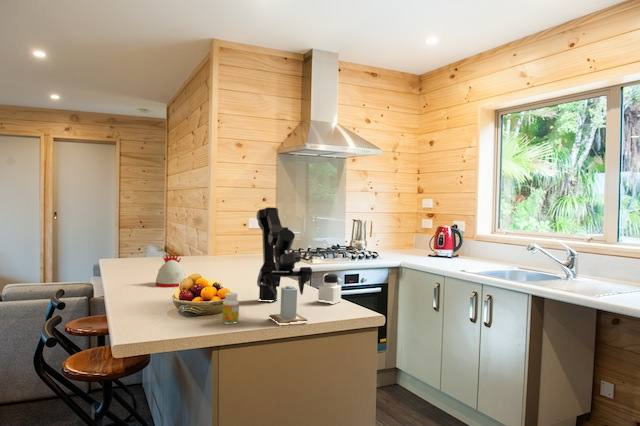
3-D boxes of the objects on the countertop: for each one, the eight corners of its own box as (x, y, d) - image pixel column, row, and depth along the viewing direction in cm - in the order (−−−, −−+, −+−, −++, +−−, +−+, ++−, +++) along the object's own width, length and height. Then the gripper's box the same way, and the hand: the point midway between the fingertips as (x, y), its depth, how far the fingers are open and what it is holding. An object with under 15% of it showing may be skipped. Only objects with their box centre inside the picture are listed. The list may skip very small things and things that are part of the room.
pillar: (280, 315, 163) (281, 285, 163) (292, 315, 165) (293, 285, 164) (283, 318, 159) (284, 288, 159) (296, 318, 160) (297, 287, 160)
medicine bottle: (340, 302, 197) (342, 274, 197) (332, 305, 191) (333, 276, 191) (326, 300, 201) (327, 272, 200) (317, 302, 194) (319, 274, 194)
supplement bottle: (219, 321, 157) (220, 293, 157) (232, 319, 161) (233, 291, 161) (227, 325, 154) (229, 296, 153) (241, 322, 157) (242, 294, 157)
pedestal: (279, 326, 155) (280, 321, 155) (269, 319, 164) (269, 314, 164) (306, 323, 160) (307, 319, 160) (295, 316, 168) (295, 312, 168)
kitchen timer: (154, 282, 224) (155, 251, 224) (183, 281, 230) (184, 251, 230) (157, 288, 212) (158, 255, 211) (188, 286, 217) (189, 254, 217)
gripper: (261, 244, 163) (267, 281, 153) (312, 245, 169) (320, 280, 159) (256, 263, 170) (261, 300, 160) (304, 263, 176) (312, 298, 166)
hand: (289, 294), depth 161 cm, fingers open, 9 cm apart
